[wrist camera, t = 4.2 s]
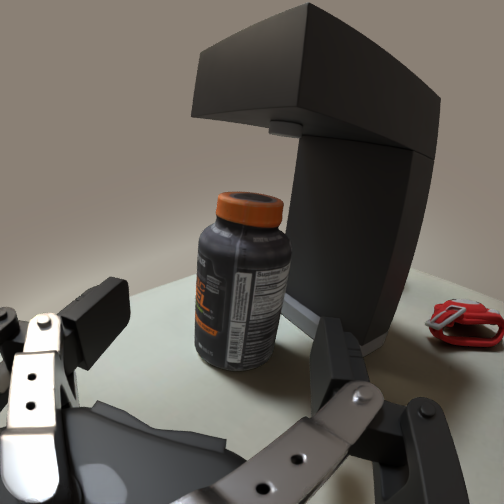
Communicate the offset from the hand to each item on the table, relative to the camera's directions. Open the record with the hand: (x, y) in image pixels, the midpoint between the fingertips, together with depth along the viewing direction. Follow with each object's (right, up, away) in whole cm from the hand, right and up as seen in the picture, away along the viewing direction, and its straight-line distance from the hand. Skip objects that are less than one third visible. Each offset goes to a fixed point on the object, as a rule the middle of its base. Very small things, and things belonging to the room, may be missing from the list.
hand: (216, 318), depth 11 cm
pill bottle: (0, -5, +10) cm, 11 cm away
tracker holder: (+24, -6, +14) cm, 28 cm away
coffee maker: (+4, -4, +12) cm, 13 cm away
